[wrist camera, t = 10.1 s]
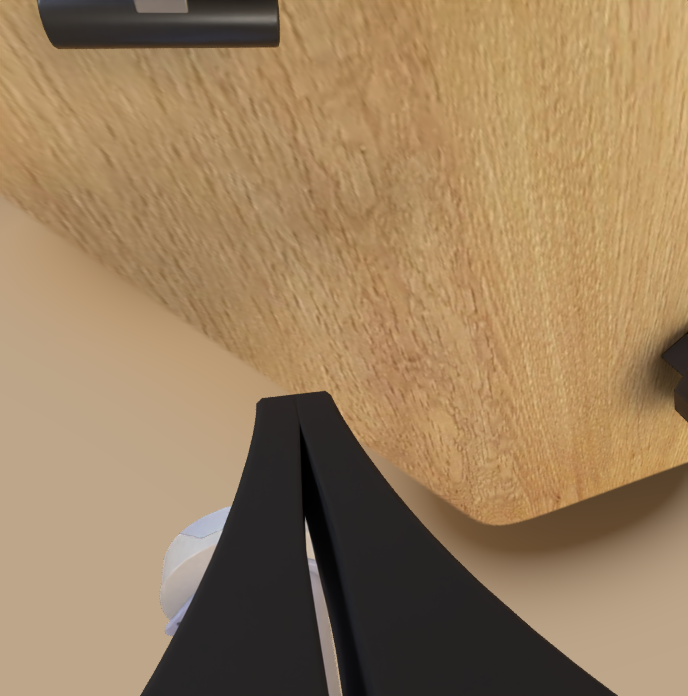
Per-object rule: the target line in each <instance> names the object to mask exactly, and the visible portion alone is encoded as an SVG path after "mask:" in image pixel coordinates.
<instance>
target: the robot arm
mask: <svg viewBox="0 0 688 696" xmlns="http://www.w3.org/2000/svg"><path fill="white" fill-rule="evenodd" d="M305 517H306V522H307V526H308V530H309V534H310V539H311V543H312V547H313V551H314V556H315V560H314V559H310V558H307V551H306V529H305ZM328 615H329V618H328ZM329 619H330V623H331V628H332V633H333V638H334V643H335V648H336V654H337V661H338V668H339V674H340V681H341V688H342V694H343V696H617V695H616V694H615V693H613V692H612V691H611V690H609V689H608V688H607V687H605V686H604V685H603V684H602V683H600V682H599V681H597V680H596V679H595V678H593V677H592V676H591V675H590V674H588V673H587V672H586V671H584V670H583V669H582V668H581V667H579V666H578V665H577V664H575V663H574V662H573V661H572V660H570V659H569V658H568V657H567V656H566V655H564V654H563V653H562V652H561V651H559V650H558V649H557V648H556V647H554V646H553V645H552V644H550V643H549V642H548V641H547V640H546V639H545V638H543V637H542V636H541V635H540V634H538V633H537V632H536V631H535V630H533V629H532V628H531V627H530V626H529V625H528V624H527V623H526V622H525V621H523V620H522V619H521V618H520V617H519V616H517V614H515V613H514V612H513V611H512V610H511V609H510V608H509V607H508V606H506V605H505V604H504V603H503V602H502V601H501V600H499V599H498V598H497V597H496V596H495V595H494V594H493V593H492V592H490V591H489V590H488V589H487V588H486V587H485V586H484V585H483V584H482V583H480V582H479V581H478V580H477V579H476V578H475V577H474V576H473V575H472V574H471V573H470V572H469V571H468V570H467V569H466V568H465V567H464V566H463V565H462V564H461V563H460V562H459V561H458V560H457V559H456V558H454V556H453V555H451V553H450V552H449V551H448V550H447V549H446V548H445V547H444V546H443V545H442V544H441V543H440V542H439V541H438V540H437V539H436V538H435V537H434V536H433V535H432V533H431V532H430V531H429V530H428V529H427V528H426V527H425V526H424V525H423V524H422V523H421V521H420V520H419V519H418V518H417V517H416V516H415V515H414V513H413V512H412V511H411V510H410V509H409V508H408V506H407V505H406V504H405V503H404V501H403V500H402V499H401V498H400V497H399V496H398V494H397V493H396V492H395V491H394V489H393V488H392V487H391V486H390V484H389V483H388V482H387V481H386V479H385V478H384V477H383V475H382V474H381V473H380V471H379V470H378V469H377V467H376V466H375V465H374V463H373V462H372V461H371V459H370V458H369V456H368V455H367V454H366V452H365V451H364V449H363V448H362V447H361V445H360V444H359V442H358V441H357V439H356V438H355V436H354V435H353V433H352V431H351V430H350V428H349V427H348V425H347V424H346V422H345V420H344V419H343V417H342V415H341V413H340V412H339V410H338V408H337V406H336V404H335V402H334V400H333V398H332V396H331V395H330V394H329V393H328V392H326V391H320V392H312V393H303V394H294V395H286V396H277V397H268V398H262V399H261V400H260V401H259V402H258V403H257V404H256V418H255V425H254V431H253V436H252V440H251V445H250V449H249V453H248V457H247V460H246V463H245V467H244V470H243V473H242V477H241V480H240V484H239V487H238V490H237V493H236V496H235V499H234V501H233V504H232V507H231V509H230V512H229V515H228V517H227V520H226V523H225V525H224V528H223V531H222V533H221V536H220V538H219V541H218V543H217V546H216V548H215V550H214V553H213V555H212V557H211V560H210V562H209V564H208V566H207V569H206V571H205V573H204V575H203V577H202V580H201V582H200V584H199V586H198V588H197V590H196V592H195V593H194V594H193V595H192V596H191V597H190V599H189V600H188V601H187V602H186V603H185V604H184V606H183V607H182V608H181V609H180V610H179V611H178V612H177V614H176V615H175V616H174V617H173V618H172V619H171V620H170V622H169V623H168V624H167V625H166V627H165V633H166V634H167V635H170V636H173V638H172V640H171V642H170V644H169V646H168V648H167V649H166V651H165V653H164V655H163V657H162V659H161V661H160V662H159V664H158V666H157V668H156V670H155V671H154V673H153V675H152V677H151V678H150V680H149V682H148V684H147V685H146V687H145V688H144V690H143V692H142V694H141V695H140V696H341V693H340V687H339V681H338V674H337V668H336V662H335V655H334V649H333V643H332V637H331V630H330V624H329Z"/></svg>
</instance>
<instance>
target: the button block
mask: <svg viewBox="0 0 688 696" xmlns="http://www.w3.org/2000/svg"><path fill="white" fill-rule="evenodd" d="M662 358H663V359H664V360H665V361H666V362H668V363H669V364H670V365H671V366H672V367H673V368H674V369H675V370H677V371H678V372H679V373H680V374H681V375H682V378H681V380H680V381H679V383H678V384H677V386H676V388H675V389H674V401H675V410H676V411H677V412H678V413H679V414H680V415H681V416H682V417H683V418H684V419H685V420H686V421H687V422H688V333H687V334H686V335H685V336H684V337H683V338H681V339H680V340H679V341H678V342H677V343H676V344H674V345H673V346H672V347H671V348H670V349H669V350H667V351H666V352H665V353H664V354H663V355H662Z"/></svg>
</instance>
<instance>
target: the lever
mask: <svg viewBox="0 0 688 696" xmlns="http://www.w3.org/2000/svg"><path fill="white" fill-rule="evenodd" d="M37 3H38V9H39V14H40V18H41V21H42V24H43V27H44V30H45V32H46V34H47V36H48V38H49V40H50V42H51V43H52V45H53V46H54V47H56V48H58V49H120V48H252V47H278V46H279V43H280V21H279V6H278V0H37Z"/></svg>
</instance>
